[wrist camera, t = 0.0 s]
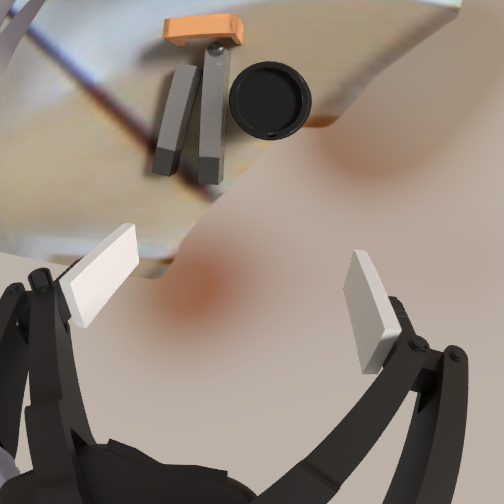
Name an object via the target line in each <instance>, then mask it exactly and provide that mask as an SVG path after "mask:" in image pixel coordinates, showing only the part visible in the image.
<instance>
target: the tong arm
mask: <svg viewBox="0 0 504 504" xmlns="http://www.w3.org/2000/svg"><path fill="white" fill-rule="evenodd" d="M202 70H203V69H202V68H200V67H198V66H194V65H187V64H180V63H177V66H176V69H175V73H174V76H173V80H172V83H171V87H170V91H169V95H168V99H167V103H166V107H165V111H164V115H163V120H162V124H161V129H160V133H159V138H158V143H157V147H156V152H155V157H154V163H153V169H152V172H154V173H158V174H161V175H165V176H169V177H170V176H171V175H173V174H175V173H176V172H177V169H178V164H179V159H180V154H181V150H182V146H183V141H184V137H185V133H186V129H187V124H188V120H189V116H190V113H191V109H192V105H193V101H194V98H195V94H196V90H197V87H198V83H199V80H200V76H201V73H202Z"/></svg>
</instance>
